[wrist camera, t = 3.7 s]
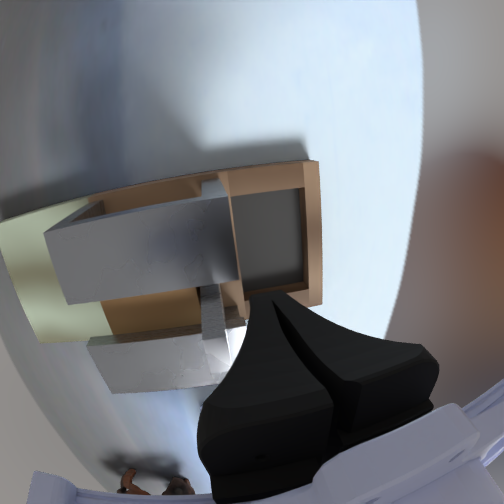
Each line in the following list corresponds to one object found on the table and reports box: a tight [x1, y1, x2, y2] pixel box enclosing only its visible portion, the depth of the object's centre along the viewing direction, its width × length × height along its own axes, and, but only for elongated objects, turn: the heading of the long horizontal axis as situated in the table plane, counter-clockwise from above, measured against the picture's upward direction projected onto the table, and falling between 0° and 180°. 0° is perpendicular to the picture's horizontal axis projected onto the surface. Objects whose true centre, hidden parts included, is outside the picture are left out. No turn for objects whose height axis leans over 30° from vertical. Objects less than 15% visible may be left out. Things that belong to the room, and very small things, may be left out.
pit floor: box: [230, 188, 303, 292], centre depth 20 cm, size 7×4×1 cm, turn 6°
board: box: [0, 160, 322, 343], centre depth 18 cm, size 10×22×2 cm, turn 96°
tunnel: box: [43, 178, 246, 394], centre depth 15 cm, size 9×8×6 cm
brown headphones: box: [117, 469, 195, 495], centre depth 28 cm, size 12×10×8 cm
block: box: [100, 286, 202, 335], centre depth 16 cm, size 5×5×4 cm
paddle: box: [200, 283, 232, 374], centre depth 14 cm, size 6×1×9 cm, turn 6°
